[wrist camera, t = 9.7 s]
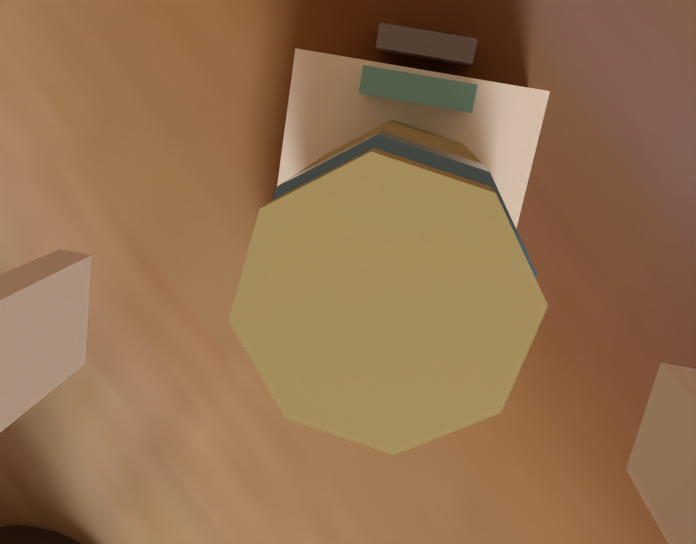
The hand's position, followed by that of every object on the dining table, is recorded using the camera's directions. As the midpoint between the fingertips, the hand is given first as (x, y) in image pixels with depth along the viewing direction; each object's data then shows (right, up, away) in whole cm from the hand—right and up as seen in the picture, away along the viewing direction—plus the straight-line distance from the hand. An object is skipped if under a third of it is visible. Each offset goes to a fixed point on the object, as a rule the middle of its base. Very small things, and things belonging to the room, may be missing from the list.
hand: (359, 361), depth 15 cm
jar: (+2, +5, +17) cm, 18 cm away
